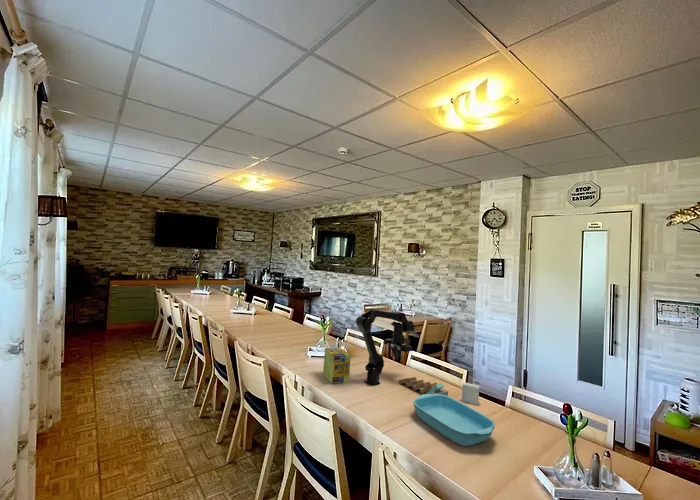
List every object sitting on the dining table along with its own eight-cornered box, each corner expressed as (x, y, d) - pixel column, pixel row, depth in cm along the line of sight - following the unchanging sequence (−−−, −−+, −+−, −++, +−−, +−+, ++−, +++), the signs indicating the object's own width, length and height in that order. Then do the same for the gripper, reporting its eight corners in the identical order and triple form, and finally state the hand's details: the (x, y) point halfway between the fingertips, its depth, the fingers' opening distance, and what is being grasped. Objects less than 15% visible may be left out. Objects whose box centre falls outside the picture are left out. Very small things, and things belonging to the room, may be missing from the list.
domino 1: (405, 382, 183) (416, 380, 177) (399, 383, 180) (410, 382, 174) (404, 378, 184) (415, 377, 177) (398, 380, 181) (409, 378, 174)
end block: (435, 404, 157) (435, 395, 157) (430, 401, 159) (430, 392, 159) (447, 400, 163) (448, 391, 163) (442, 397, 165) (443, 389, 165)
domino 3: (419, 389, 174) (431, 385, 168) (413, 390, 172) (425, 387, 165) (418, 385, 175) (429, 381, 169) (412, 386, 172) (423, 383, 166)
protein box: (331, 384, 172) (333, 356, 173) (322, 374, 186) (324, 348, 187) (349, 382, 177) (351, 354, 177) (339, 372, 191) (340, 347, 191)
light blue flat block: (425, 393, 165) (435, 384, 160) (432, 392, 168) (441, 382, 163) (428, 397, 163) (438, 388, 159) (434, 395, 166) (444, 386, 162)
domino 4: (427, 392, 170) (438, 386, 165) (421, 394, 167) (432, 388, 162) (425, 389, 171) (436, 382, 166) (419, 390, 168) (430, 384, 163)
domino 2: (412, 385, 179) (424, 383, 172) (406, 387, 176) (417, 385, 169) (411, 381, 179) (423, 379, 173) (405, 383, 176) (416, 381, 170)
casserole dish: (403, 412, 147) (404, 396, 147) (438, 404, 158) (439, 389, 158) (467, 458, 115) (468, 438, 115) (506, 444, 125) (507, 426, 126)
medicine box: (478, 402, 163) (479, 385, 163) (478, 405, 159) (479, 388, 159) (462, 398, 166) (463, 381, 166) (461, 401, 162) (462, 384, 162)
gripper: (419, 335, 184) (417, 362, 184) (396, 328, 199) (395, 353, 199) (405, 337, 178) (404, 365, 177) (383, 329, 193) (382, 355, 192)
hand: (396, 359), depth 187 cm, fingers closed
